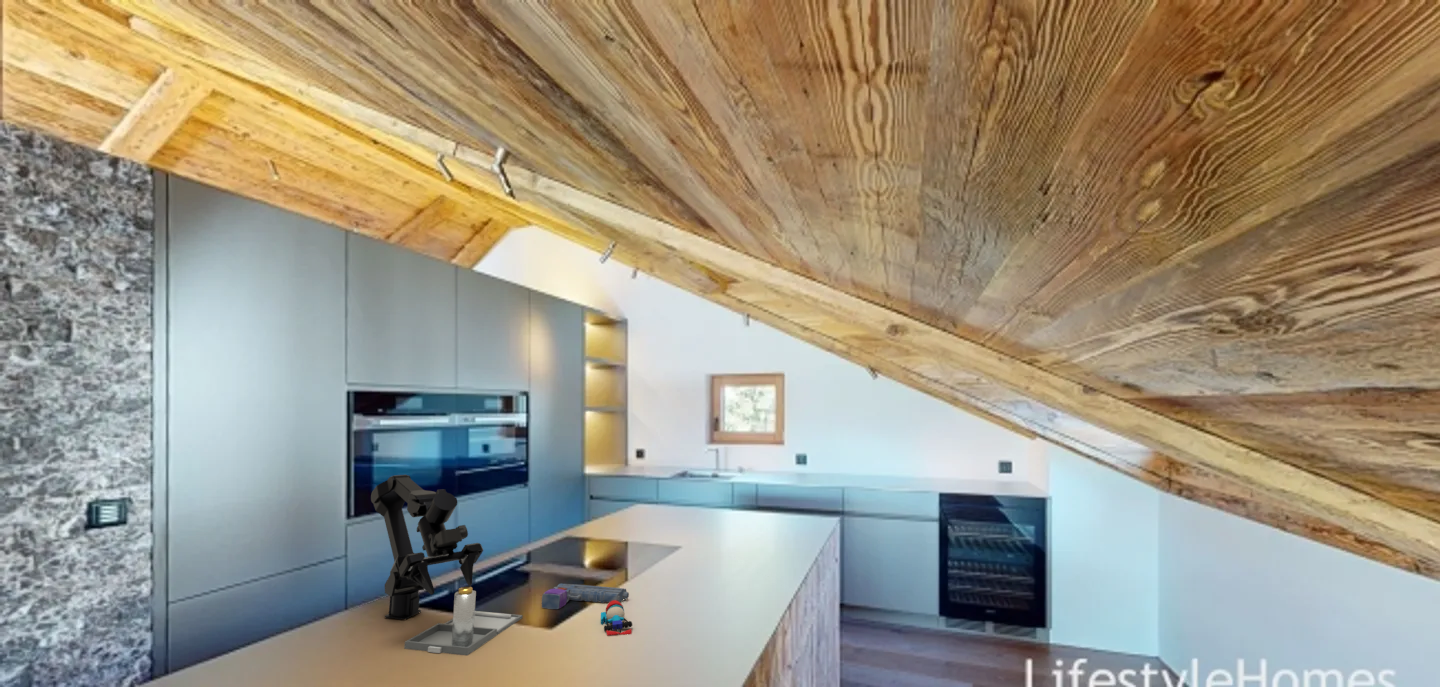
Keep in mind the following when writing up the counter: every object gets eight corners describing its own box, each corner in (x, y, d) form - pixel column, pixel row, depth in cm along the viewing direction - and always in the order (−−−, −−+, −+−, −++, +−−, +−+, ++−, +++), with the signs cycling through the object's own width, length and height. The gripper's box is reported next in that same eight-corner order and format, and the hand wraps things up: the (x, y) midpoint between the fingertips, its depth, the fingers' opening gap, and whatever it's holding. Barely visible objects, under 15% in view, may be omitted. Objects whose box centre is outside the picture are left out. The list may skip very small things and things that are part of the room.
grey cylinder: (446, 649, 136) (450, 590, 138) (459, 641, 141) (462, 584, 142) (465, 651, 136) (468, 592, 137) (476, 643, 140) (480, 586, 141)
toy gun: (614, 598, 164) (631, 584, 179) (535, 591, 169) (559, 579, 183) (613, 615, 164) (631, 600, 178) (534, 608, 168) (558, 594, 183)
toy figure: (634, 640, 151) (626, 610, 165) (634, 622, 150) (625, 593, 165) (604, 645, 149) (598, 614, 163) (603, 627, 148) (598, 597, 162)
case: (401, 654, 136) (402, 642, 136) (437, 633, 148) (438, 623, 148) (465, 661, 133) (466, 649, 133) (496, 639, 145) (497, 628, 145)
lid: (437, 633, 148) (437, 624, 148) (467, 616, 160) (468, 607, 160) (495, 639, 145) (496, 630, 145) (522, 621, 157) (522, 612, 158)
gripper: (407, 520, 142) (424, 577, 133) (481, 510, 156) (501, 561, 148) (391, 549, 146) (407, 606, 138) (465, 537, 160) (483, 588, 152)
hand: (452, 589), depth 144 cm, fingers open, 9 cm apart
